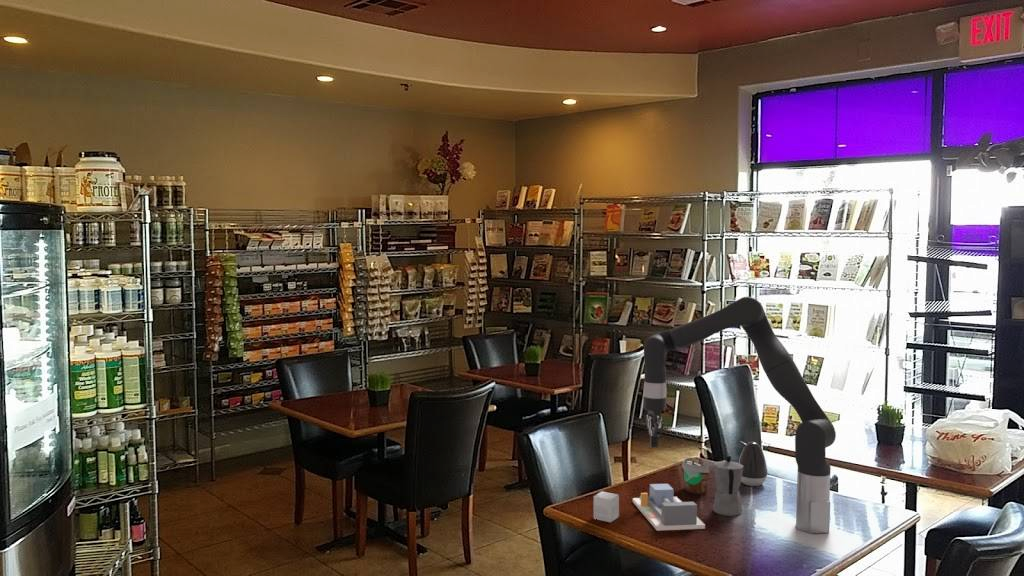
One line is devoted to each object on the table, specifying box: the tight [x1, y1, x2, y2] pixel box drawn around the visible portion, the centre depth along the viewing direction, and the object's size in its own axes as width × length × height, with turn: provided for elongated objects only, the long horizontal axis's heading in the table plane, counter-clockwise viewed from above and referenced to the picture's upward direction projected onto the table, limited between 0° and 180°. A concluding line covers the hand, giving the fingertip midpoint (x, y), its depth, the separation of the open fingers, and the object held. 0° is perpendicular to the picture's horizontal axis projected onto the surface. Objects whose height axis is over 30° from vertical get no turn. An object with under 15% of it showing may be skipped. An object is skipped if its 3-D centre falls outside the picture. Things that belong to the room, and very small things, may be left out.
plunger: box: [638, 483, 675, 507], centre depth 253 cm, size 11×10×6 cm
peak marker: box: [640, 492, 649, 506], centre depth 254 cm, size 1×2×4 cm, turn 97°
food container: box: [681, 456, 710, 495], centre depth 274 cm, size 12×6×10 cm, turn 17°
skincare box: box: [593, 490, 620, 523], centre depth 247 cm, size 6×6×7 cm
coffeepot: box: [712, 455, 744, 517], centre depth 252 cm, size 15×9×18 cm, turn 171°
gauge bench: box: [632, 496, 706, 532], centre depth 250 cm, size 26×15×7 cm, turn 7°
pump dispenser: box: [738, 441, 768, 487], centre depth 282 cm, size 10×10×15 cm
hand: (653, 446), depth 264 cm, fingers closed
